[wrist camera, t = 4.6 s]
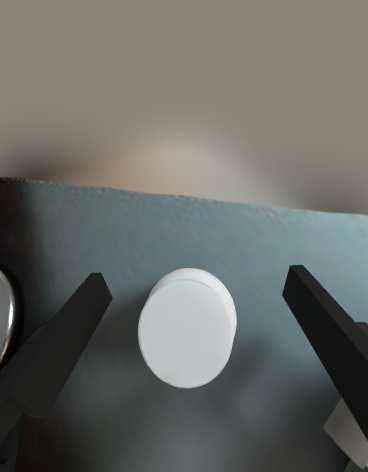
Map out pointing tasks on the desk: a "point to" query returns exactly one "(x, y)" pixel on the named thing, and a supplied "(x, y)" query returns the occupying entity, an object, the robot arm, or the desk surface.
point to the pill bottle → (187, 328)
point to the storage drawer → (348, 437)
